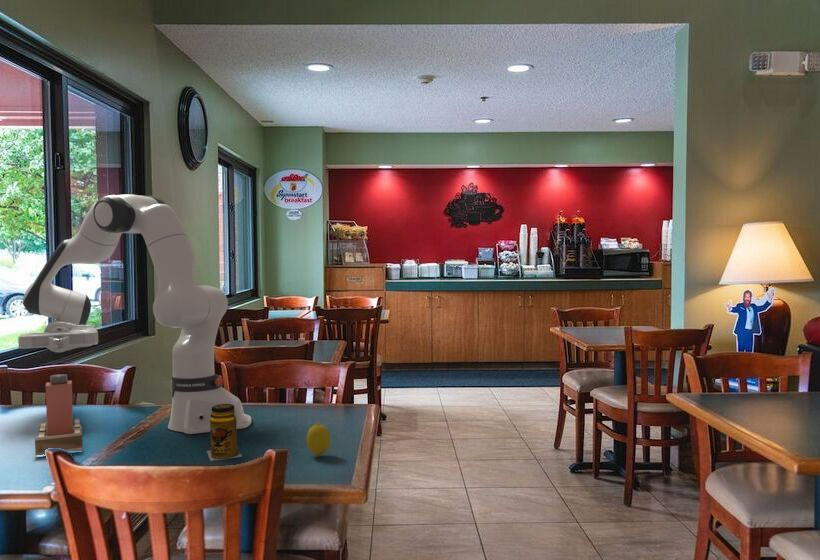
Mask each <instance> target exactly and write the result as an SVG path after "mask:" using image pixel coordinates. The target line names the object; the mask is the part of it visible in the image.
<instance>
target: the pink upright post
mask: <svg viewBox="0 0 820 560" xmlns="http://www.w3.org/2000/svg"><path fill="white" fill-rule="evenodd" d="M49 381H50V382H45V399H46V400H45V406H46V412H45V413H46V424H47V436H50V435H58V434H67V433H73V426H74V416H73V414H74V412H73V381H72V380H68V374H64V373H63V374H62V373H61V374H59V373H58V374H53V375H50V376H49Z"/></svg>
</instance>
